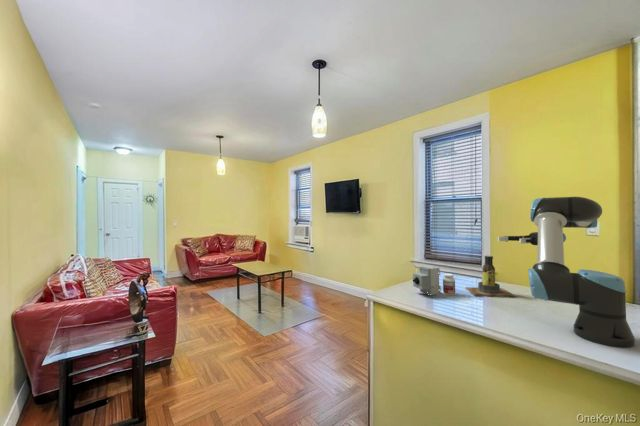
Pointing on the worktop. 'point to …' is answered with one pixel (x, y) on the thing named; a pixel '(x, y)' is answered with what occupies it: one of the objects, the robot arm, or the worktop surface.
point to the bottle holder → (489, 291)
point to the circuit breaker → (427, 279)
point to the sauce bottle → (488, 272)
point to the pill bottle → (449, 284)
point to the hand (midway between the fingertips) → (508, 240)
